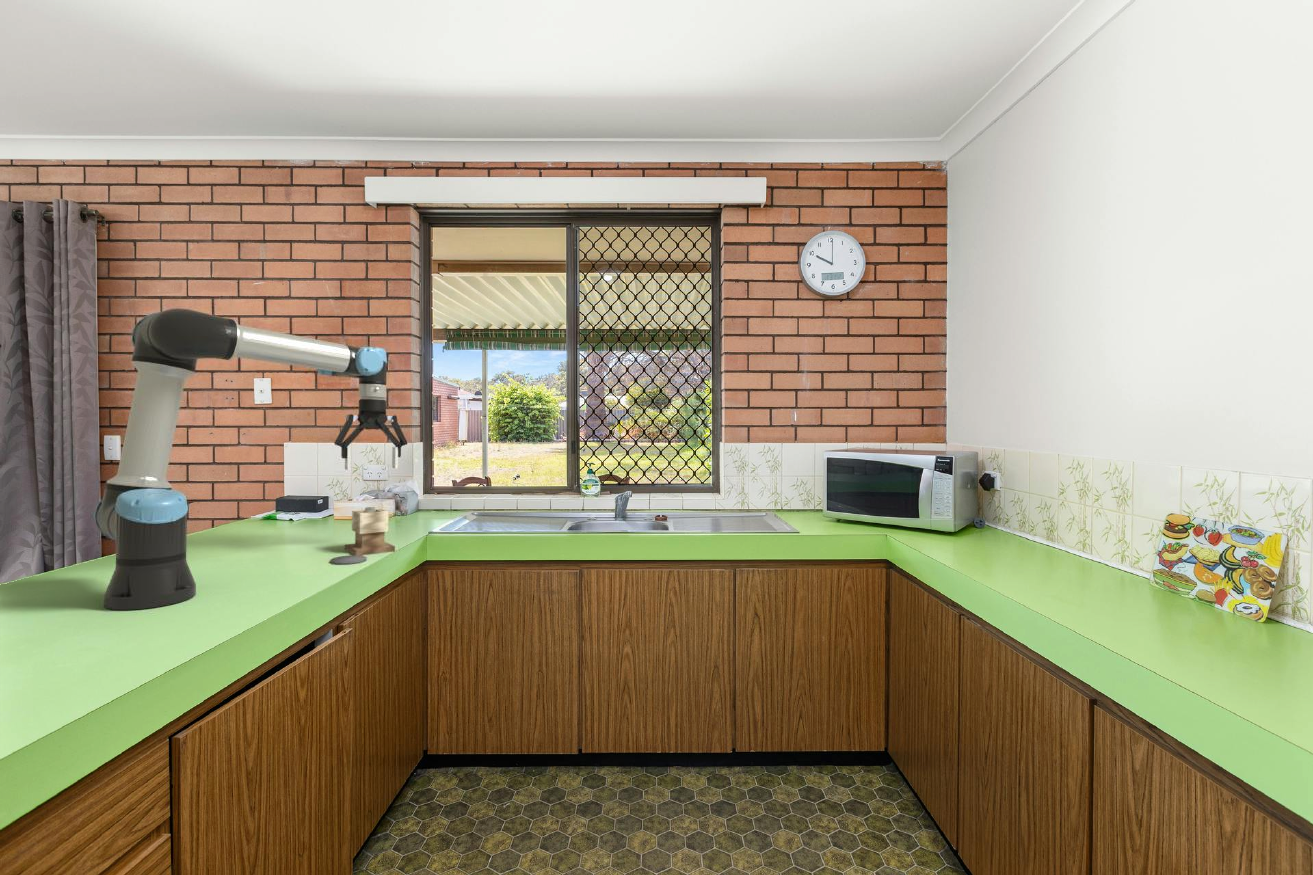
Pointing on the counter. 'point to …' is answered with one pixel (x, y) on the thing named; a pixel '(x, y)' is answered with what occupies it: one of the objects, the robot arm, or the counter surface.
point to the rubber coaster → (348, 559)
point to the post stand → (369, 542)
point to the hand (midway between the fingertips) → (371, 468)
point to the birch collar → (370, 521)
